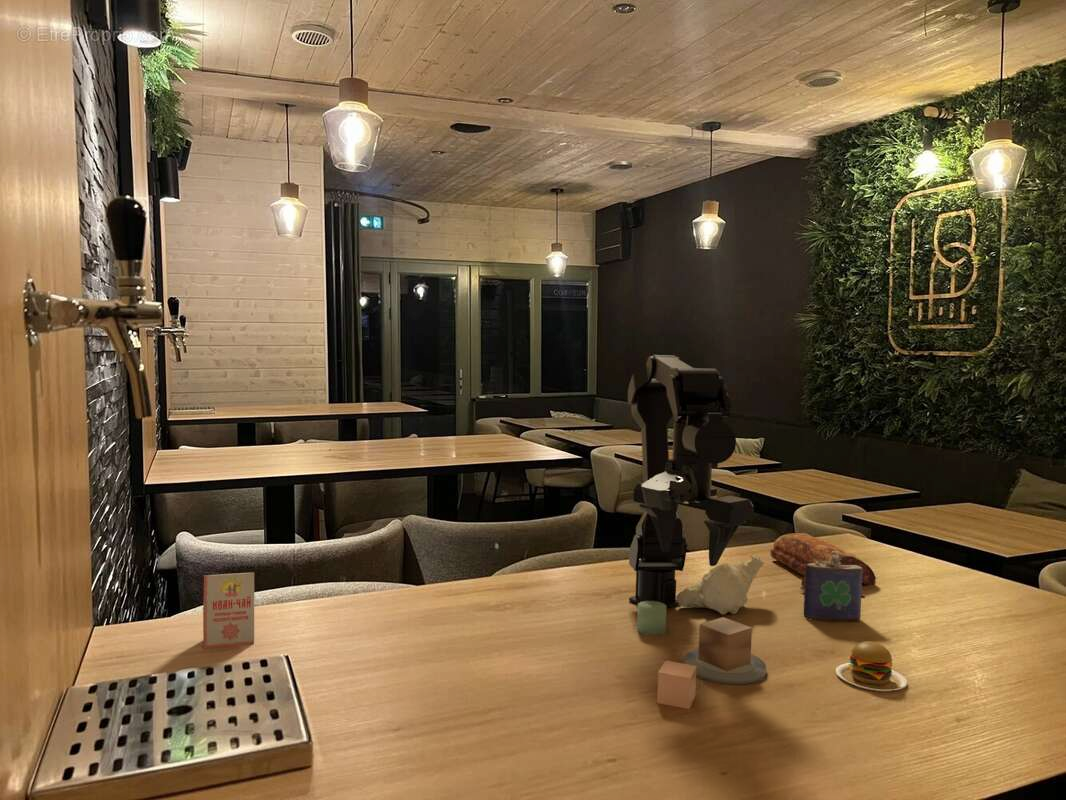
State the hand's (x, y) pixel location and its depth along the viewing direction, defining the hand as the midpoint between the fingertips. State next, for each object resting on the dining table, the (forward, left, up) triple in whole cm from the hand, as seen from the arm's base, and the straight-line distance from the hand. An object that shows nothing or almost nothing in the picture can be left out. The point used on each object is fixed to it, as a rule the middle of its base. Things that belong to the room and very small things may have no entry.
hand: (688, 558), depth 117 cm
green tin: (-7, 0, -13) cm, 15 cm away
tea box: (-38, -55, -13) cm, 68 cm away
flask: (+6, +29, -13) cm, 32 cm away
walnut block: (+9, -2, -12) cm, 15 cm away
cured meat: (-9, +49, -14) cm, 52 cm away
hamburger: (+23, +12, -14) cm, 29 cm away
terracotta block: (+12, -15, -13) cm, 23 cm away
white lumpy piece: (-8, +19, -13) cm, 25 cm away
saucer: (+9, -2, -13) cm, 16 cm away
